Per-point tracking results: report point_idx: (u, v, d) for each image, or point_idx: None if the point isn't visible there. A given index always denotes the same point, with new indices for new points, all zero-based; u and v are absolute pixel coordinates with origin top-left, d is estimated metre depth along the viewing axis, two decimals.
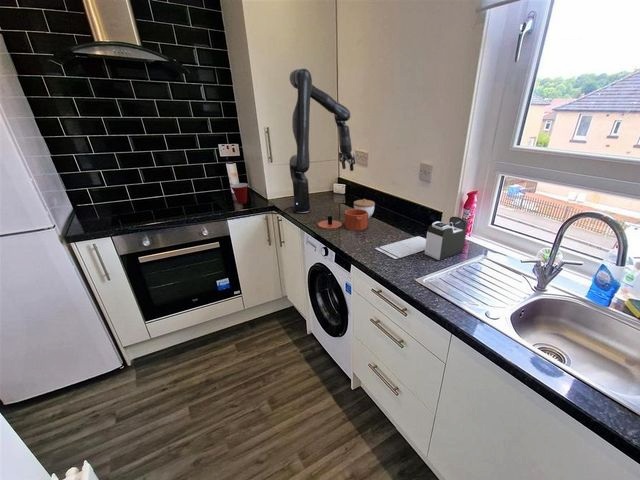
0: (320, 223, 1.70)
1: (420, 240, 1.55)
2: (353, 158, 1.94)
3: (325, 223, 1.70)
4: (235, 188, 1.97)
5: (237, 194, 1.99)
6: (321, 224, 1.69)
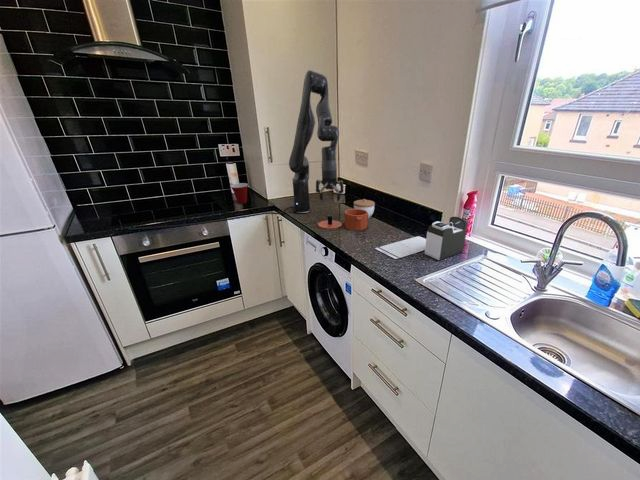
0: (320, 223, 1.70)
1: (420, 240, 1.55)
2: (316, 184, 1.60)
3: (325, 223, 1.70)
4: (235, 188, 1.97)
5: (237, 194, 1.99)
6: (321, 224, 1.69)
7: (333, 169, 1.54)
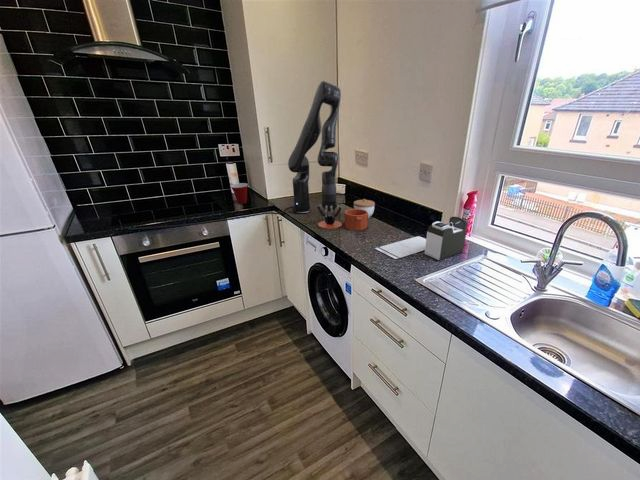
0: (320, 223, 1.70)
1: (420, 240, 1.55)
2: None
3: (325, 223, 1.70)
4: (235, 188, 1.97)
5: (237, 194, 1.99)
6: (321, 224, 1.69)
7: (333, 193, 1.59)
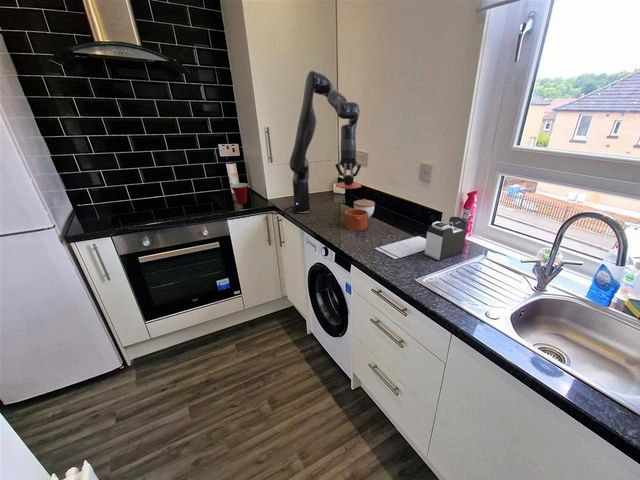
0: (338, 184, 1.59)
1: (420, 240, 1.55)
2: (337, 169, 1.56)
3: (343, 184, 1.60)
4: (235, 188, 1.97)
5: (237, 194, 1.99)
6: (339, 184, 1.58)
7: (353, 148, 1.48)
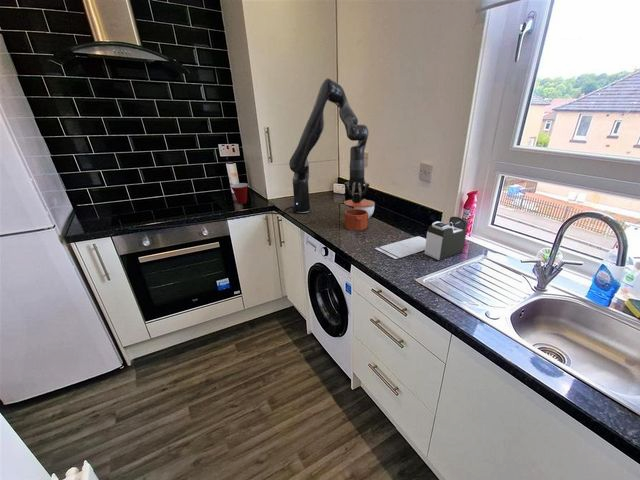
0: (346, 202, 1.64)
1: (420, 240, 1.55)
2: (346, 187, 1.60)
3: (351, 202, 1.64)
4: (235, 188, 1.97)
5: (237, 194, 1.99)
6: (348, 203, 1.62)
7: (361, 169, 1.53)
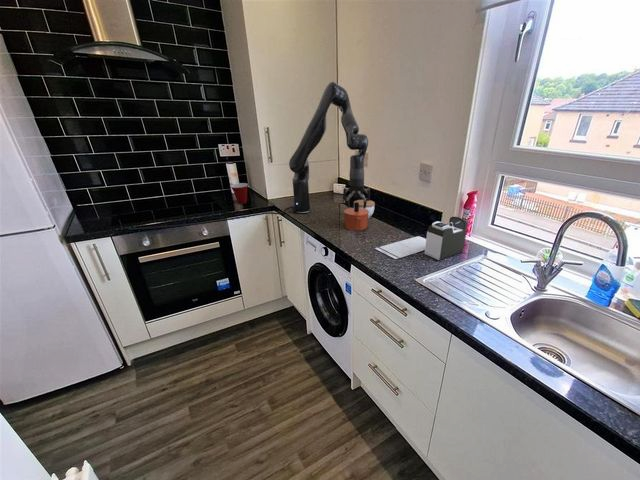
0: (346, 210, 1.66)
1: (420, 240, 1.55)
2: (343, 192, 1.61)
3: (351, 210, 1.66)
4: (235, 188, 1.97)
5: (237, 194, 1.99)
6: (347, 211, 1.64)
7: (361, 177, 1.54)
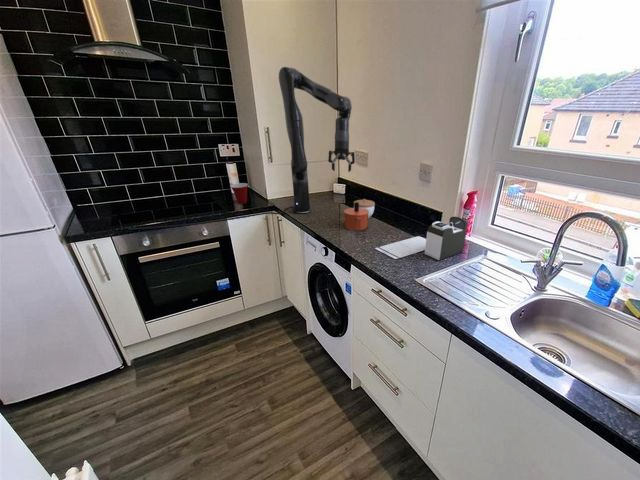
0: (346, 210, 1.66)
1: (420, 240, 1.55)
2: (329, 155, 1.66)
3: (351, 210, 1.66)
4: (235, 188, 1.97)
5: (237, 194, 1.99)
6: (347, 211, 1.64)
7: (346, 139, 1.60)
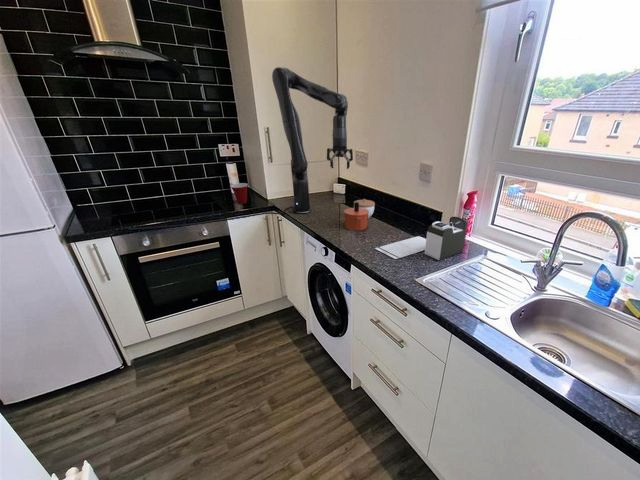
0: (346, 210, 1.66)
1: (420, 240, 1.55)
2: (327, 152, 1.68)
3: (351, 210, 1.66)
4: (235, 188, 1.97)
5: (237, 194, 1.99)
6: (347, 211, 1.64)
7: (343, 137, 1.61)
